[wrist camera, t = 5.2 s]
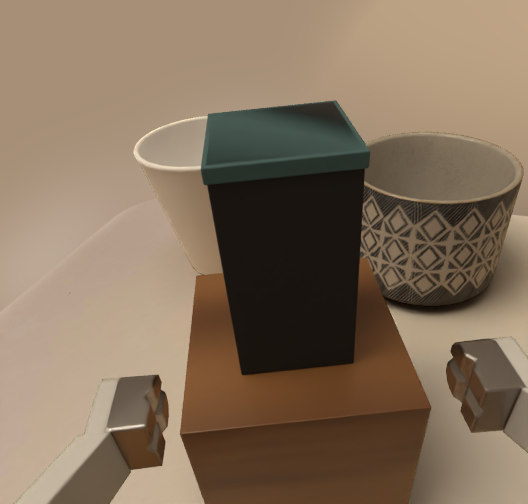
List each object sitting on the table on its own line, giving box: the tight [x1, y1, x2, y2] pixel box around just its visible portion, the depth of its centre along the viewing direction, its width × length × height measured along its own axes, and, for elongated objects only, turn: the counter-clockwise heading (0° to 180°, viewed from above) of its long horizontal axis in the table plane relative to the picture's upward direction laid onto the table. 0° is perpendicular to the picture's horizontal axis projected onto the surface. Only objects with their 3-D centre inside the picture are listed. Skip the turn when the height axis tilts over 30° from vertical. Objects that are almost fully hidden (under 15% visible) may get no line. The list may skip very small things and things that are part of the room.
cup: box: [133, 116, 223, 275], centre depth 40 cm, size 12×12×12 cm
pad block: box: [201, 101, 370, 375], centre depth 18 cm, size 5×5×10 cm
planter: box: [360, 132, 523, 306], centre depth 36 cm, size 13×13×10 cm
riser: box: [180, 258, 431, 504], centre depth 24 cm, size 10×10×10 cm
